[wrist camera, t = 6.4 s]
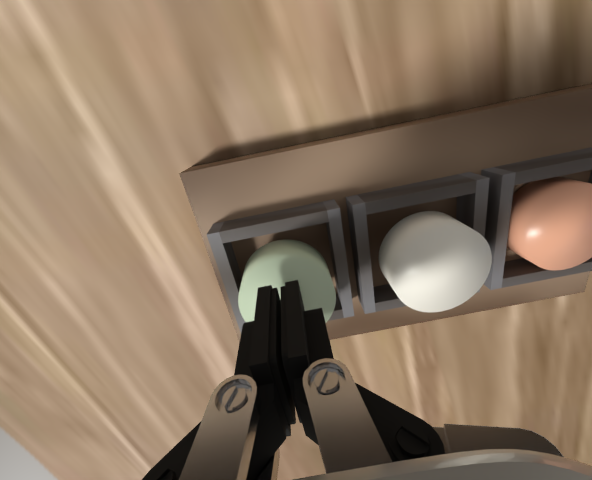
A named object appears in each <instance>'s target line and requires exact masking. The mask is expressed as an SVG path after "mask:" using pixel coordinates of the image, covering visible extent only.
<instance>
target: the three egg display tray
mask: <svg viewBox="0 0 592 480" xmlns="http://www.w3.org/2000/svg"><path fill="white" fill-rule="evenodd" d="M179 174H180V177H181V180H182V182H183V185H184V188H185V191H186V194H187V196H188V199H189V202H190V205H191V207H192V210H193V213H194V216H195V219H196V221H197V224H198V227H199V230H200V233H201V235H202V238H203V241H204V244H205V247H206V249H207V252H208V255H209V258H210V261H211V263H212V266H213V269H214V272H215V275H216V277H217V280H218V283H219V286H220V289H221V291H222V294H223V297H224V300H225V303H226V305H227V308H228V311H229V314H230V317H231V319H232V322H233V325H234V328H235V330H236V333H237V336H238V339H239V342H240V338H241V332H242V326H243V324H244V323H245V322H246V321H245V320H244V319H243V317H242V315H241V313H240V310H239V305H238V295H239V291H240V286H241V282H242V278H243V273H244V269H245V266H246V263H247V261H248V260H249V258H250V257H251V255H252V254H253V253H254V252H255V251H256V250H257V249H259V248H260V247H262V246H264V245H265V244H268V243H270V242H273V241H277V240H287V239H289V240H297V241H301V242H304V243H306V244H308V245H310V246H312V247H313V248H315V249H316V250H317V251H318V252H319V253H320V254H321V255H322V256H323V258H324V260H325V261H326V264H327V266H328V269H329V272H330V275H331V279H332V282H333V285H334V288H335V292H336V304H335V308H334V311H333V313H332V315H331V317H330V318H329V320H328V321H327V322H326V327H327V332H328V336H329V340H331V339H336V338H342V337H347V336H352V335H357V334H363V333H368V332H373V331H379V330H384V329H389V328H395V327H400V326H405V325H411V324H416V323H421V322H426V321H432V320H437V319H442V318H448V317H453V316H458V315H464V314H469V313H474V312H480V311H485V310H490V309H495V308H501V307H506V306H511V305H517V304H522V303H527V302H533V301H538V300H543V299H549V298H554V297H559V296H564V295H570V294H575V293H580V292H585V288H586V284H587V280H588V277H589V273H590V271H592V258H590V259H589V260H587V261H585V262H584V263H582V264H580V265H577V266H575V267H572V268H569V269H565V270H546V269H543V268H541V267H538V266H537V265H535V264H533V263H532V262H530V261H528V260H526V259H525V258H523V257H521V256H519V255H518V254H516V253H514V252H512V251H511V250H509V249H507V240H508V231H509V223H510V215H511V207H512V199H513V194H514V193H516V192H517V191H518V190H519V189H520V188H522V187H523V186H525V185H526V184H528V183H530V182H533V181H538V180H543V179H548V178H553V177H563V178H568V179H573V180H577V181H582V182H587V183H591V184H592V84H587V85H582V86H578V87H573V88H568V89H563V90H558V91H554V92H549V93H544V94H539V95H534V96H530V97H525V98H520V99H515V100H510V101H506V102H501V103H496V104H491V105H486V106H481V107H477V108H472V109H467V110H462V111H457V112H453V113H448V114H443V115H438V116H433V117H429V118H424V119H419V120H414V121H409V122H405V123H400V124H395V125H390V126H385V127H381V128H376V129H371V130H366V131H361V132H356V133H352V134H347V135H342V136H337V137H332V138H328V139H323V140H318V141H313V142H308V143H304V144H299V145H294V146H289V147H284V148H280V149H275V150H270V151H265V152H260V153H256V154H251V155H246V156H241V157H236V158H231V159H227V160H222V161H217V162H212V163H207V164H203V165H198V166H193V167H190V168H188V169H187V170H185V171H183V172H181V173H179ZM423 211H438V212H442V213H445V214H447V215H449V216H451V217H453V218H454V219H456V220H458V221H460V222H461V223H463V224H465V225H466V226H468V227H470V228H472V229H473V230H475V231H477V232H478V233H480V234H481V235H482V236H483V237H484V238H485V240H486V241H487V242H488V244H489V246H490V250H491V254H492V264H491V269H490V272H489V275H488V277H487V279H486V281H485V282H484V284H483V285H482V287H481V288H480V289H479V290H478V291H477V292H476V293H475V294H474V295H473V296H472V297H471V298H470V299H468V300H467V301H466V302H464V303H462V304H461V305H459V306H457V307H454V308H452V309H449V310H445V311H441V312H430V313H429V312H421V311H417V310H414V309H412V308H410V307H408V306H407V305H405V304H404V303H403V302H402V301H401V300H400V299H399V297H398V296H397V295H396V293H395V292H394V290H393V289H392V287H391V285H390V284H389V282H388V281H387V279H386V278H385V276H384V275H383V273H382V271H381V269H380V266H379V250H380V246H381V244H382V241H383V239H384V237H385V236H386V234H387V233H388V232H389V230H390V229H391V228H392V227H393V226H394V225H395V224H397V223H398V222H399V221H401V220H402V219H404V218H405V217H407V216H409V215H412V214H415V213H418V212H423Z"/></svg>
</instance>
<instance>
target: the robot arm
mask: <svg viewBox="0 0 592 480" xmlns="http://www.w3.org/2000/svg"><path fill="white" fill-rule="evenodd" d="M295 407H296V411H297V414H298V418H299V421H300V423H302V424H303V427H304V431H305V434H306V436H308V437H309V438H310V439H311V440H313V441H314V442H315V443H316V444H318V445H319V448H320V452H321V455H322V459H323V463H324V467H325V470H326V474H322V475H316V476H310V477H305V478H299V479H294V480H592V466H590V465H587V464H584V463H582V462H579V461H576V460H572V459H568V458H565V457H563V456H562V454H561V453H560V452H559V450H558V449H557V448H556V447H555V446H554V445H553V444H552V443H551V442H549V441H548V440H547V439H546V438H544V437H543V436H541V435H539V434H537V433H535V432H533V431H529V430H525V429H520V428H505V427H488V426H472V425H455V424H444V428H440V427H432V426H430V425H429V424H428V423H426V422H425V421H423V420H422V419H420V418H418V417H416V416H414V415H413V414H411V413H409V412H407V411H405V410H404V409H402V408H400V407H398V406H396V405H394V404H393V403H391V402H389V401H387V400H385V399H384V398H382V397H380V396H378V395H376V394H375V393H373V392H371V391H369V390H367V389H366V388H364V387H362V386H360V385H358V384H356V383H355V382H354V380H353V378H352V376H351V374H350V372H349V370H348V368H347V367H346V365H344V364H343V363H342V362H340V361H338V360H335V359H334V358H333V354H332V349H331V345H330V341H329V336H328V332H327V327H326V323H325V319H324V314H323V310H322V308H317V309H312V310H307V311H305V309H304V304H303V300H302V295H301V291H300V286H299V282H298V280H294V281H289V282H285V286H282V287H281V300H280V297H279V293H278V289H277V288H272V286H271V285H269V286H264V287H259V288H258V291H257V300H256V308H255V317H254V321H250V322H245V323H244V324H243V326H242V332H241V338H240V344H239V350H238V356H237V362H236V368H235V374H234V376H232V377H229V378H227V379H226V380H224V381H223V382H221V383H220V384H219V385H218V386H217V388H216V389H215V390H214V392H213V394H212V396H211V398H210V401H209V403H208V406H207V408H206V411H205V414H204V416H203V419H202V421H201V422H200V423H199V424H198V425H197V426H196V427H195V428H194V429H193V430H192V431H191V432H189V433H188V434H187V435H186V436H185V437H184V438H183V439H182V440H181V441H180V442H179V443H178V444H177V445H176V446H175V447H174V448H173V449H172V450H171V451H170V452H169V453H168V454H167V455H165V456H164V457H163V458H162V459H161V460H160V461H159V462H158V463H157V464H156V465H155V466H154V467H153V468H152V469H151V470H150V471H149V472H148V473H147V474H146V476H145V477H144V478H143V479H142V480H277V474H278V466H279V458H280V451H279V447H280V446H281V444H282V443H283V442H284V440H285V439H286V436H291V428H290V425H291V424H295V423H296V418H295Z"/></svg>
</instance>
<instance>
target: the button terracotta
mask: <svg viewBox="0 0 592 480" xmlns="http://www.w3.org/2000/svg"><path fill="white" fill-rule="evenodd" d="M507 249H509V250H511V251H512V252H514V253H516V254H518V255H519V256H521V257H523V258H525V259H526V260H528V261H530V262H532V263H533V264H535V265H537V266H538V267H541V268H543V269H546V270H565V269H569V268H572V267H575V266H577V265H580V264H582V263H584V262H585V261H587V260H589V259H590V258H592V184H591V183H587V182H582V181H577V180H573V179H568V178H563V177H553V178H548V179H543V180H538V181H533V182H530V183H528V184H526V185H525V186H523V187H522V188H520V189H519V190H518V191H517V192H516V193H514V194H513V199H512V207H511V215H510V223H509V231H508V240H507Z"/></svg>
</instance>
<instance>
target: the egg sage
mask: <svg viewBox="0 0 592 480" xmlns="http://www.w3.org/2000/svg"><path fill="white" fill-rule="evenodd" d="M294 280H298V282H299V286H300V291H301V295H302V300H303V304H304V309H305V311H307V310H312V309H317V308H322V310H323V314H324V319H325V323H326V322H327V321H328V320H329V318H330V317H331V315H332V313H333V311H334V308H335V304H336V292H335V288H334V285H333V282H332V279H331V275H330V272H329V269H328V266H327V264H326V261H325V260H324V258H323V256H322V255H321V254H320V253H319V252H318V251H317V250H316V249H315V248H313V247H312V246H310V245H308V244H306V243H304V242H301V241H297V240H289V239H287V240H277V241H273V242H270V243H268V244H265V245H264V246H262V247H260V248H259V249H257V250H256V251H255V252H254V253H253V254H252V255H251V257H250V258H249V260H248V261H247V263H246V266H245V269H244V273H243V278H242V282H241V286H240V291H239V295H238V305H239V310H240V313H241V315H242V317H243V319H244V320H245V321H246V322H250V321H254V317H255V308H256V300H257V291H258V288H259V287H264V286H269V285H271V286H272V288H277V289H278V293H279V297H280V300H281V287H282V286H285V282H289V281H294Z"/></svg>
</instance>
